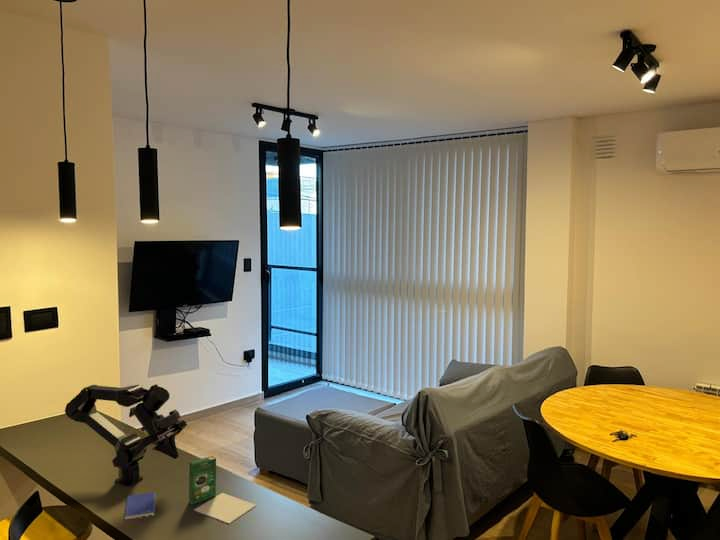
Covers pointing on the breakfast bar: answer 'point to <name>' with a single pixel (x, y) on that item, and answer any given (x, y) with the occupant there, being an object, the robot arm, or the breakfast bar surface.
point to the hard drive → (140, 505)
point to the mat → (225, 508)
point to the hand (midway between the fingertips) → (177, 457)
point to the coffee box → (202, 480)
